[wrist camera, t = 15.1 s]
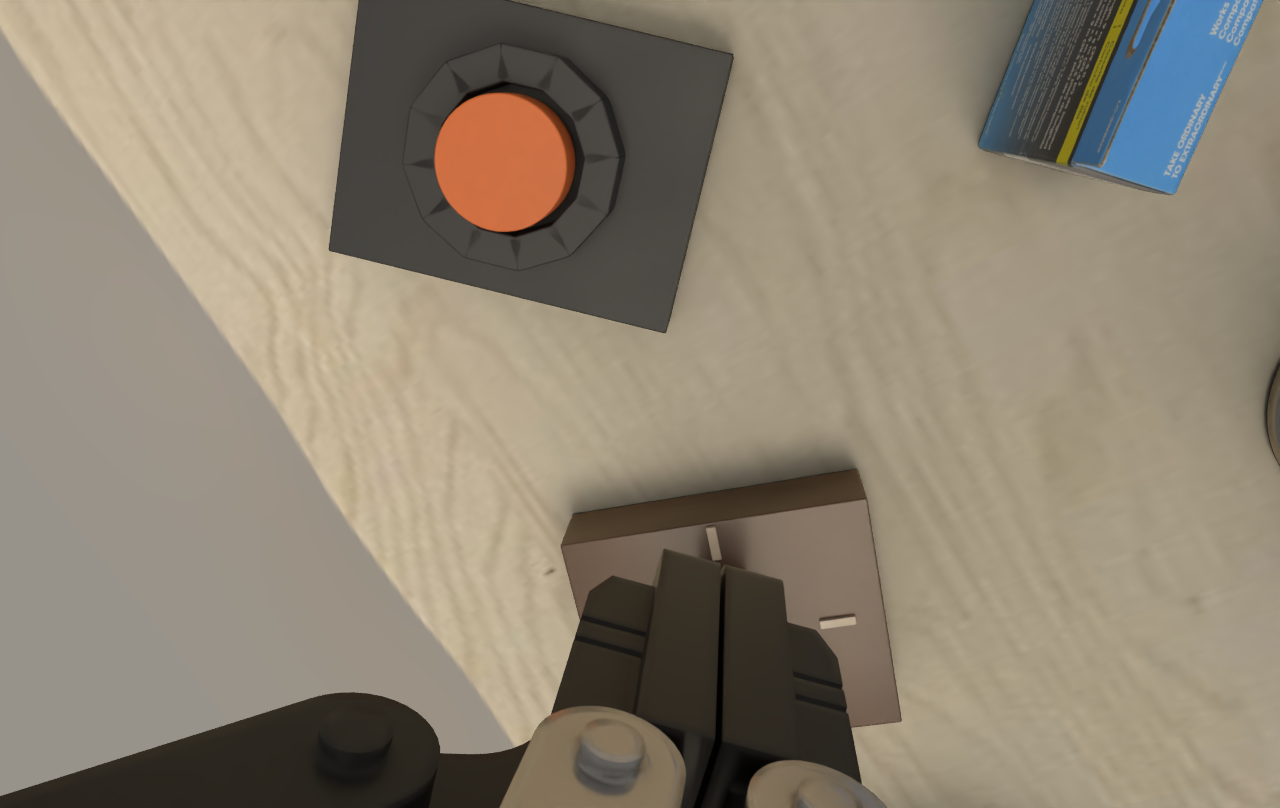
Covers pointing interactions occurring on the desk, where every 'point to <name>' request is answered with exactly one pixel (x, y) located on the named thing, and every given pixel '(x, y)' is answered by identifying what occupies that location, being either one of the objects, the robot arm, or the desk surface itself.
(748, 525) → the dial panel
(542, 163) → the button
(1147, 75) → the ink cartridge box
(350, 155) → the button housing
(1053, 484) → the desk surface
